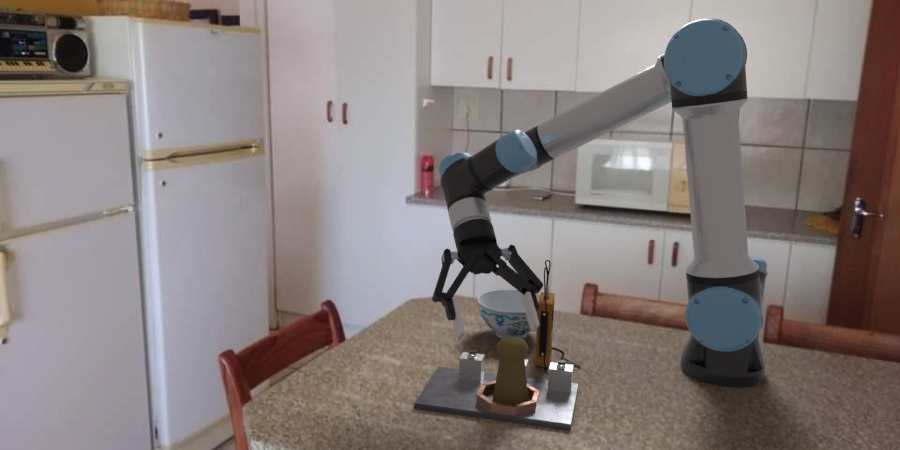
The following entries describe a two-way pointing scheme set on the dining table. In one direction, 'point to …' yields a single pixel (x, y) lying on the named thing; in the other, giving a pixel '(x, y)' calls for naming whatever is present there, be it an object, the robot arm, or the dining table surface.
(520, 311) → the chinaware
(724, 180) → the robot arm
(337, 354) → the dining table surface
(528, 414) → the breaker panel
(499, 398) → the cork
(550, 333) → the multimeter
